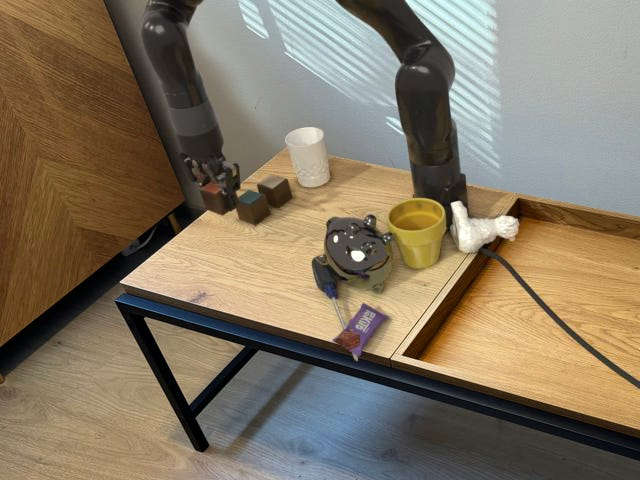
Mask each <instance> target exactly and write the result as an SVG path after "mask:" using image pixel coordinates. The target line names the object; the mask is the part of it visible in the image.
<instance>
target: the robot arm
mask: <svg viewBox="0 0 640 480" xmlns="http://www.w3.org/2000/svg"><path fill="white" fill-rule="evenodd" d="M204 1H205V0H148V1H147V3H146V5H145V7H144V9H143V12H142V14H141V19H140V29H139V30H140V31H139V34H140V41H141V44H142V47H143V50H144V52H145V54H146V57H147V60H148V61H149V63H150V66H151V67H152V69H153V71H154V73H155V75H156V77H157V79H158V83H159V87H160V89H161V92H162V94H163V98H164V102H165V104H166V107H167V111H168V116H169V119H170V122H171V125H172V128H173V130H174V131H173V132H174V134H175V136H176V139H177V142H178V145H179V148H180V150H181V151H179V152H178V153H177V157H178V159H179V162H180V163H181V165H182V167H183V168H184V170H185V173H186V174H187V176H188V178H189V180H190V181H191V182H192V183H197V186H198V187H199V188H200V189H201V188H202V187H204V186H205V185H207V184H208V183H210V182H211V181H212V182H213V184H214V185H217V186H218V188H219V190H220V192H221V194H222V198H223V201H224V204H225V207H226V210H227V211H229V213H230V212H233V211H234V210H236V208H237V201H236V197H235V194H234V193H235V192H236V193H237V192H238V191H239V190H241V189H242V186H241V185H242V184H241V183H242V182H241V171H240V165H239V164H238V163H237V162H234V163H232V164H231V163H230V162H228V161H227V158H226V156H225V155H224V153H223V151H222V150H223V147H224V143H225V141H224V138H223V137H224V136H223V133H222V130H221V127H220V124H219V121H218V118H217V115H216V112H215V109H214V105H213V103H212V101H211V99H210V97H209V94H208V92H207V88H206V85H205V81H204V78H203V75H202V73H201V71H200V69H199V67H198V66H197V65H196V63H195V60H194V56H193V53H192V49H191V45H190V42H189V38H188V37H189V36H188V30H189V27H190V24H191V21H192V19H193V18H194V15H195V13H196V11H197V8H198V6H200V5H201V4H203V2H204ZM334 1H335V2H336V3H337V5H339V6H340V7H341V8H342V9H343V10H345V11H346V12H347V13H349V14H350V15H351V16H353V17H354V18H356V19H357V20H359V21H361V22H362V23H364V24H366V25H367V26H368V27H370V28H371V29H373V30H374V32H375V33H377V34H378V35H379V36H380V37H381V38H382V39H383V40H384V42H385V43H386V44H387V46H388V47H389V48H390V49H391V51H392V52H393V54H394V55H395V57H396V58H397V60H398V62H399V64H400V66H399V68H398V70H397V71H396V74H395V77H394V92H395V93H394V94H395V99H396V106H397V112H398V116H399V121H400V127H401V130H402V132H403V133H404V135H405V138H406V139H405V140H406V147H407V153H408V160H409V167H410V176H411V181H412V189H413V194H412V198H427V199H431V200H434V201H436V202H438V203H440V204H441V205H442V206H443V208H444V209H445V213H446V231H445V232H450V227H451V225H452V224H453V222H452V219H453V213H452V208H451V203H453V202H457V201H461V202H462V204H463V206H465V208H466V209H467V214H468V218H470V208H469V198H468V187H467V186H468V185H467V176H466V173H463V172H462V170H461V159H460V148H459V135H458V126H457V122H456V121H455V119H454V118H453V117H452V111H451V103H450V102H451V101H450V91H451V90H452V87H453V85H454V82H455V79H456V66H455V61H454V59H453V57H452V55H451V54H450V52H449V50H448V49H447V48H446V47H445V45H444V44H442V43H441V41H440V40H439V39H438V38H437V37H436V35H434V34H433V32H432V31H431V30H430V29H429V27H427V25H426V24H425V23H424V22H423V21H422V20H421V19H420V17H419V16H418V15H417V14H416V13H415V12H414V11H413V9H412V8H411V6H410V4H409V3H408V2H407V0H334ZM217 178H218V179H217ZM224 181H225V182H226V187H225V188H224V186H223V182H224ZM477 252H480V253H481V254H483V255H485V256H488V257H490V258H493V259H494V260H496V261H497V262H499V263H500V264H501V265H502V266H503V267H504V269H506V270H507V271H508V272H509V274H510V275H511V276H512V277H513V278H514V279H515V280H516V282H517V283H518V284H519V285H520V286H521V287H522V289H524V290H525V292H526V293H527V294H528V295H529V296H530V297H531V298H532V299H533V301H535V303H536V304H537V305H538V306H539V307H540V308H541V309H542V310H543V311H544V312H545V313H546V314H547V315H548V316H549V317H550V319H551V320H553V322H555V324H556V325H558V326H559V327H560V328H561V330H563V331H564V332H565V333H566V334H567V335H568V336H569V337H571V338H572V339H573V340H574V341H575V342H576V343H577V344H578V345H580V346H581V347H582V348H583V349H585V350H586V351H587V352H588V353H589V354H591V355H592V356H593V357H594V358H596V359H597V360H598V361H599V362H601V363H602V364H603V365H605V366H606V367H607V368H609V369H610V370H611V371H613V372H614V373H615V374H617V375H618V376H620V377H621V378H623V379H624V380H626V381H627V382H628V383H630V384H631V385H633V386H634V387H635V388H637V389H639V390H640V380H638V379H637V378H635V377H634V376H632V375H631V374H630V373H628V372H627V371H625V370H624V369H623V368H621V367H620V366H618V365H617V364H616V363H614V362H613V361H612V360H610V359H609V358H608V357H606V356H605V355H603V354H602V353H601V352H600V351H598V350H597V349H596V348H595V347H593V346H592V345H591V344H590V343H589V342H587V341H586V340H585V339H584V338H583V337H581V335H579V334H578V333H577V332H576V331H574V329H572V328H571V327H570V326H569V325H568V324H567V323H566V322H565V321H564V320H563V319H561V317H560V316H558V314H557V313H556V312H555V311H554V310H552V308H550V307H549V305H548V304H547V303H546V302H545V301H544V300H543V299H542V298H541V297H540V296H539V295H538V294H537V293H536V292H535V291H534V289H533V288H532V287H531V286H530V285H529V284H528V283H527V282H526V281H525V280H524V279H523V277H522V276H521V275H520V274H519V272H517V270H516V269H515V268H514V267H513V266H512V264H510V263H509V262H508V260H506V259H505V258H503V256H502V255H500V254H498V253H496V252H494V251H491V250H489V249H487V248H484V247H483V246H482V247H481V248H480V249H478V251H477Z"/></svg>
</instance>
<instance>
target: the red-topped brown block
mask: <svg viewBox="0 0 640 480" xmlns="http://www.w3.org/2000/svg"><path fill="white" fill-rule="evenodd" d="M218 178H219V177H217V179H218ZM223 186H224V188H225V187H226V182H225V181H224V182H223ZM198 191H199V193H200V196H201V198H202V201H203V205H204V208H205V210H206V211H209V212H212V213H214V214H217V215H220V216H223V217H224V216H225V215H226V214H228V213H230V211H227V210H226V207H225V204H224V201H223V198H222V194H221V192H220V190H219V188H218V186H217V185H214V184H213V182H212V181H211V182H210V183H208V184H207V185H205V186H204V187H202V188H201V187H200V188H199V189H198ZM234 194H235V197H236V201H237V205H239V204H240V203H239V200H238V197H239V196H238V193H237V191H236V192H235V193H234Z"/></svg>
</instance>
